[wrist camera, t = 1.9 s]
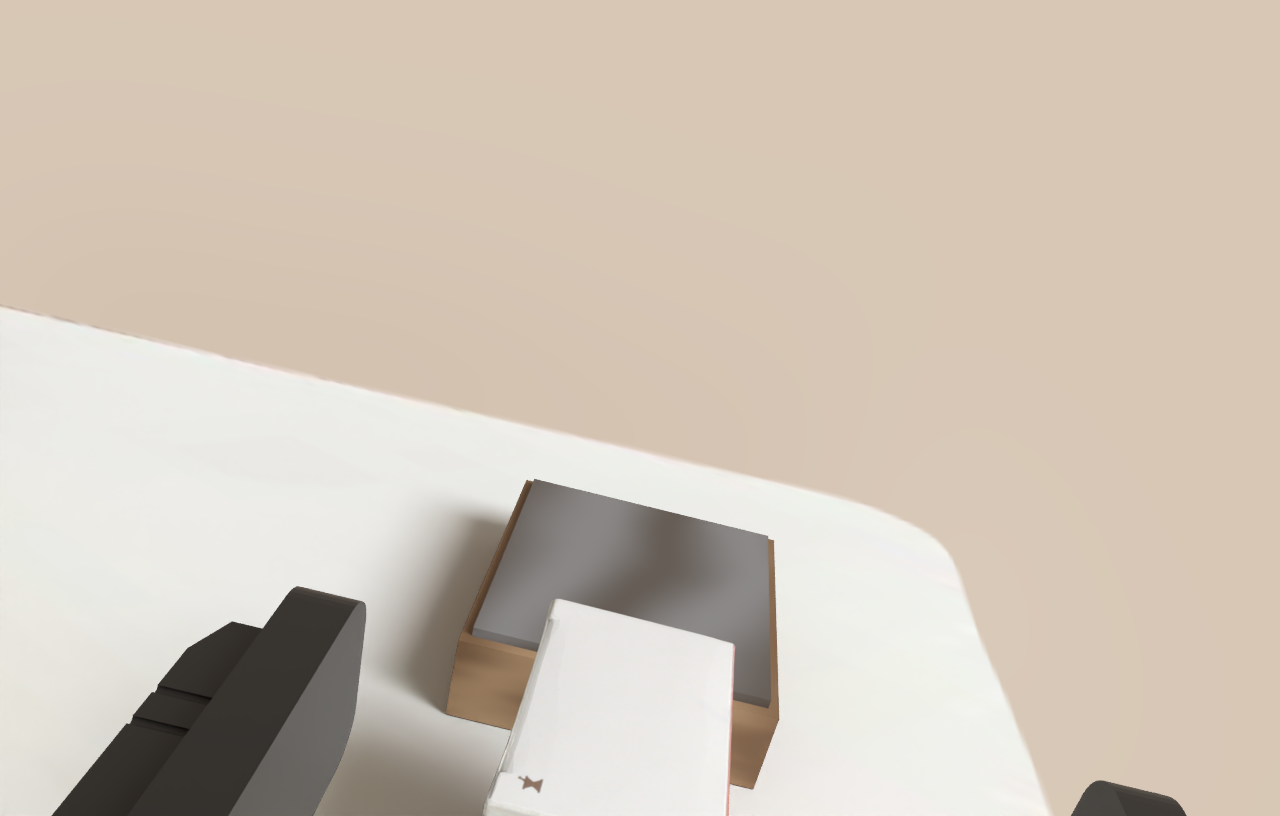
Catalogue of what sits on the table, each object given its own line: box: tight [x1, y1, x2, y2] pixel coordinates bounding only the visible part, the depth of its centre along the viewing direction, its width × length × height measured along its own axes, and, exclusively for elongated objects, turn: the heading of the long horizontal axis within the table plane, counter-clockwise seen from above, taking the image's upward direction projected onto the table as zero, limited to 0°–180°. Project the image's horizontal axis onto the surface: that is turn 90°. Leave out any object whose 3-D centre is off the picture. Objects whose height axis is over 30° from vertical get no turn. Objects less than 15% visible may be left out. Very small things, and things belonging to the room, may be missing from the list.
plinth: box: [446, 479, 779, 789], centre depth 42 cm, size 12×12×4 cm
